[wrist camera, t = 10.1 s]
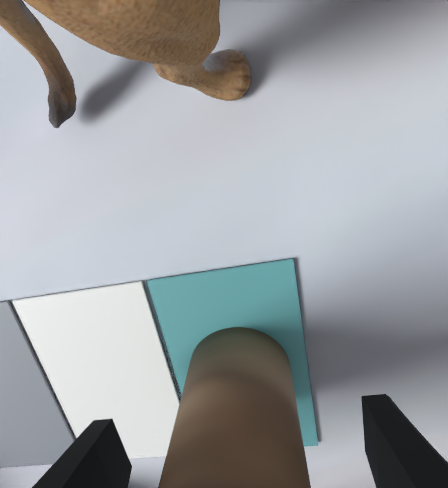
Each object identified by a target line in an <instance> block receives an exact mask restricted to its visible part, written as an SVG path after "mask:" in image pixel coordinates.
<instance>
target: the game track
mask: <svg viewBox="0 0 448 488" xmlns="http://www.w3.org/2000/svg"><path fill="white" fill-rule="evenodd" d="M147 284H148V287H149V290H150V293H151V297H152V300H153V303H154V307H155V310H156V313H157V316H158V320H159V323H160V326H161V329H162V333H163V336H164V339H165V342H166V346H167V349H168V352H169V356H170V359H171V362H172V365H173V369H174V372H175V375H176V378H177V382H178V385H179V388H180V392H181V395H182V392H183V388H184V384H185V380H186V376H187V372H188V368H189V364H190V360H191V357H192V353H193V351H194V349H195V348H196V346H197V345H198V344H199V343H200V342H201V340H203V339H204V338H205V337H206V336H208V335H210V334H211V333H213V332H216V331H218V330H221V329H225V328H231V327H245V328H251V329H255V330H258V331H261V332H263V333H265V334H267V335H269V336H271V337H272V338H273V339H275V340H276V341H277V342H278V343H279V344H280V345H281V346H282V347H283V349H284V350H285V352H286V354H287V356H288V359H289V362H290V367H291V373H292V379H293V385H294V391H295V397H296V403H297V409H298V415H299V421H300V427H301V433H302V439H303V445H304V446H318V439H317V432H316V425H315V417H314V410H313V402H312V395H311V387H310V380H309V372H308V365H307V358H306V350H305V343H304V335H303V328H302V320H301V313H300V305H299V298H298V290H297V283H296V276H295V268H294V261H293V258H292V259H285V260H279V261H272V262H265V263H258V264H252V265H245V266H238V267H232V268H225V269H218V270H211V271H205V272H198V273H191V274H184V275H178V276H171V277H164V278H158V279H151V280H147ZM12 302H13V304H14V306H15V309H16V311H17V313H18V315H19V317H20V319H21V321H22V323H23V326H24V328H25V330H26V332H27V334H28V336H29V338H30V340H31V343H32V345H33V347H34V349H35V351H36V353H37V355H38V357H39V360H40V362H41V364H42V366H43V368H44V370H45V372H46V374H47V376H48V379H49V381H50V383H51V385H52V387H53V389H54V391H55V393H56V396H57V398H58V400H59V402H60V404H61V406H62V408H63V410H64V413H65V415H66V417H67V419H68V421H69V423H70V425H71V427H72V430H73V432H74V434H75V436H76V438H78V436H79V435H80V434H81V433H82V432H83V431H84V430H85V429H86V428H87V427H88V426H89V425H90V423H91V422H92V421H93V420H102V419H113V421H114V424H115V426H116V429H117V431H118V434H119V436H120V439H121V441H122V443H123V446H124V448H125V451H126V453H127V456H128V458H129V459H132V458H146V457H161V456H166V455H167V451H168V447H169V444H170V440H171V436H172V432H173V428H174V424H175V420H176V416H177V412H178V408H179V404H180V401H179V398H178V395H177V392H176V388H175V385H174V382H173V379H172V376H171V372H170V369H169V366H168V363H167V359H166V356H165V353H164V350H163V347H162V343H161V340H160V337H159V334H158V331H157V327H156V324H155V321H154V318H153V314H152V311H151V308H150V305H149V302H148V298H147V295H146V292H145V289H144V286H143V282H142V281H137V282H131V283H124V284H117V285H111V286H104V287H97V288H90V289H84V290H77V291H70V292H64V293H57V294H50V295H43V296H37V297H30V298H23V299H16V300H13V301H12ZM74 441H75V439H74V437H73V434H72V432H71V430H70V428H69V426H68V424H67V422H66V420H65V418H64V415H63V413H62V411H61V409H60V407H59V405H58V403H57V401H56V399H55V396H54V394H53V392H52V390H51V388H50V386H49V384H48V382H47V380H46V378H45V375H44V373H43V371H42V369H41V367H40V365H39V363H38V361H37V359H36V356H35V354H34V352H33V350H32V348H31V346H30V344H29V342H28V340H27V337H26V335H25V333H24V331H23V329H22V327H21V325H20V323H19V321H18V319H17V316H16V314H15V312H14V310H13V308H12V306H11V304H10V302H9V301H3V302H0V468H4V467H18V466H32V465H46V464H54V463H55V462H56V461H57V460H58V459H59V458H60V456H61V455H62V454H63V453H64V452H65V451H66V450H67V449H68V448H69V446H70V445H71V444H72V443H73V442H74Z"/></svg>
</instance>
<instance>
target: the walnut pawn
mask: <svg viewBox="0 0 448 488" xmlns="http://www.w3.org/2000/svg"><path fill="white" fill-rule="evenodd" d="M158 488H311V486H310V481H309V475H308V469H307V463H306V457H305V451H304V445H303V439H302V433H301V427H300V421H299V415H298V409H297V403H296V397H295V391H294V385H293V379H292V373H291V367H290V362H289V359H288V356H287V354H286V352H285V350H284V349H283V347H282V346H281V345H280V344H279V343H278V342H277V341H276V340H275V339H273V338H272V337H271V336H269V335H267V334H265V333H263V332H261V331H258V330H255V329H251V328H245V327H231V328H225V329H221V330H218V331H216V332H213V333H211V334H210V335H208V336H206V337H205V338H204V339H203V340H201V342H200V343H199V344H198V345H197V346H196V348H195V349H194V351H193V353H192V357H191V360H190V364H189V368H188V372H187V376H186V380H185V384H184V388H183V392H182V396H181V400H180V404H179V408H178V412H177V416H176V420H175V424H174V428H173V432H172V436H171V440H170V444H169V447H168V451H167V455H166V459H165V463H164V467H163V471H162V475H161V479H160V483H159V487H158Z"/></svg>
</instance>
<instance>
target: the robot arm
mask: <svg viewBox="0 0 448 488" xmlns="http://www.w3.org/2000/svg"><path fill="white" fill-rule="evenodd" d="M362 411H363V425H364V440H365V452H366V455H367V458H368V462H369V465H370V468H371V471H372V475H373V478H374V481H375V484H376V488H448V462H447V461H446V460H445V459H444V458H443V457H442V456H441V455H440V454H439V453H438V452H437V451H436V450H435V449H434V448H433V446H432V445H431V444H430V443H429V442H428V441H427V440H426V439H425V438H424V437H423V436H422V434H421V433H420V432H419V431H418V430H417V429H416V428H415V427H414V425H413V424H412V423H411V422H410V421H409V420H408V419H407V417H406V416H405V415H404V414H403V413H402V412H401V410H400V409H399V408H398V407H397V406H396V404H395V403H394V402H393V401H392V400H391V398H390V397H389V396H387V395H386V394H381V395H370V396H362ZM131 469H132V465H131V463H130V461H129V458H128V456H127V453H126V451H125V448H124V446H123V443H122V441H121V439H120V436H119V434H118V431H117V429H116V426H115V424H114V421H113V419H102V420H93V421H92V422H91V423H90V425H89V426H88V427H87V428H86V429H85V430H84V431H83V432H82V433H81V434H80V435H79V436H78V438H77V439H76V440H75V441H74V442H73V443H72V444H71V445H70V446H69V448H68V449H67V450H66V451H65V452H64V453H63V454H62V455H61V456H60V458H59V459H58V460H57V461H56V462H55V463H54V464H53V465H52V466H51V468H50V469H49V470H48V471H47V472H46V473H45V474H44V475H43V476H42V477H41V479H40V480H39V481H38V482H37V483H36V484H35V485H34V486H33V487H32V488H128V483H129V478H130V474H131Z"/></svg>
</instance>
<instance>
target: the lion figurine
mask: <svg viewBox="0 0 448 488" xmlns="http://www.w3.org/2000/svg"><path fill="white" fill-rule="evenodd" d="M24 1H25V2H26V3H28V4H29V5H30V6H32V7H33V8H35V9H36V10H38V11H39V12H40V13H42V14H43V15H45V16H46V17H47V18H49V19H50V20H52V21H54V22H55V23H57V24H58V25H60V26H61V27H63V28H65V29H66V30H68V31H69V32H71V33H73V34H74V35H76V36H78V37H79V38H81V39H83V40H84V41H86V42H88V43H90V44H92V45H94V46H96V47H98V48H100V49H102V50H104V51H106V52H109V53H111V54H114V55H118V56H121V57H125V58H128V59H132V60H138V61H144V62H149V63H154V67H155V70H156V72H157V73H158V74H159V76H161V77H162V78H164V79H166V80H169V81H171V82H174V83H177V84H180V85H185V86H189V87H193V88H195V89H197V90H199V91H201V92H203V93H204V94H206V95H209V96H211V97H214V98H217V99H222V100H226V101H231V100H237V99H240V98H242V97H243V96H244V95H245V93H246V92H247V90H248V88H249V86H250V84H251V73H250V68H249V65H248V63H247V60H246V58H245V56H244V54H243V53H242V52H240V51H236V50H223V51H219V52H215V53H212V54H210V53H211V52H212V51H213V49H214V48H215V46H216V44H217V42H218V40H219V36H220V24H219V6H220V0H24ZM0 25H1V26H2V27H3V28H4V29H5V30H6V31H7V32H8V33H9V34H10V35H11V36H13V37H14V38H15V39H16V40H17V41H18V42H19V43H20V44H21V45H23V46H24V47H25V48H26V49H27V50H28V51H29V52H30V53H31V54H32V55H33V56H34V57H35V58H36V60H37V61H38V62H39V64H40V66H41V67H42V69H43V71H44V74H45V76H46V79H47V81H48V84H49V95H48V103H49V121H50V122H51V124H52V125H53V126H54V127H55V128H59V126H60V125H61V124H62V123H63V122H64V121H66V120H67V119H69V118H70V117H72V116H73V114H74V112H75V110H76V95H75V88H74V83H73V79H72V76H71V74H70V72H69V71H68V69H67V67H66V65H65V63H64V61H63V59H62V57H61V55H60V53H59V51H58V49H57V48H56V46H55V45H54V43H53V42H52V40H51V39H50V38H49V36H48V35H47V33H46V32H45V30H44V29H43V27H42V26H41V24H40V22H39V21H38V20H37V19H36V17H35V16H34V15H33V14H32V13H31V12H30V10H29V9H28V8H27V7H26V5H25V4H24V2H23V1H22V0H0Z"/></svg>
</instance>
